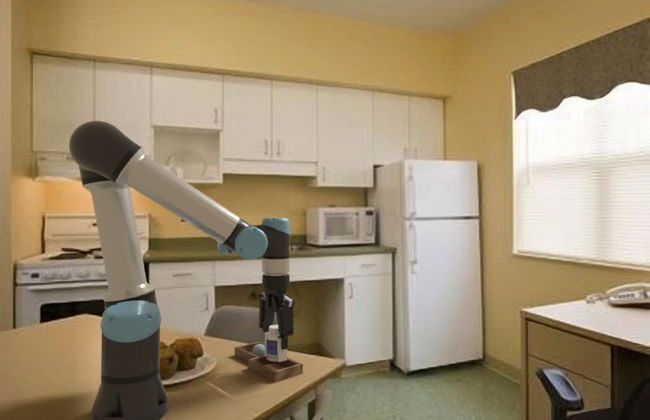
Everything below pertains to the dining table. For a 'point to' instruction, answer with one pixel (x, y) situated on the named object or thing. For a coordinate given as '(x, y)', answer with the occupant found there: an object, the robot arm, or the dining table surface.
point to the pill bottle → (272, 343)
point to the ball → (259, 350)
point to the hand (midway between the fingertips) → (275, 357)
